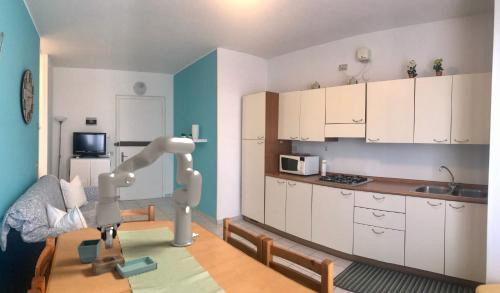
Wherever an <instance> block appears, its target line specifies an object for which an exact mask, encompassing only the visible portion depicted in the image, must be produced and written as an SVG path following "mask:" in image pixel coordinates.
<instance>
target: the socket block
mask: <svg viewBox="0 0 500 293" xmlns="http://www.w3.org/2000/svg"><path fill="white" fill-rule="evenodd" d="M125 261H126V260H125V258H124V257H123V256H122V255H121V253H115V254H111V255H106V256H101V257H97V259H93V260H92V262H91V270H92V271H93V273H94V275H95V276H96V277H97V276H101V275H104V274H108V273H111V272H115V271H117V264H119V265H120V266H121V268H122V267H125Z"/></svg>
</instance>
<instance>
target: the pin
mask: <svg viewBox="0 0 500 293" xmlns="http://www.w3.org/2000/svg"><path fill="white" fill-rule="evenodd" d="M113 229H114V226H113V225H112V224H111V225H105V228H104V231H105V238H106V241H104V249H105V250H112V249H113V248H114V239H113Z"/></svg>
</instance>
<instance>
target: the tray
mask: <svg viewBox="0 0 500 293" xmlns="http://www.w3.org/2000/svg"><path fill="white" fill-rule="evenodd" d="M154 269H155V270H158V262H157V261H156V260H154V259H153V257H152V256H150V255H144V256H141V257H137V258H132V259H129V260H125V267H122V268H121V266H120V265H119V264H117V270H116V271H117V273H118V274H119V275H120V277H121V278H122V279H127V278H130V276H131V277H134V276H133V275H135V276H137V274H138V275H141V273H142V274H145V273H148V272H152V271H154ZM151 270H152V271H151ZM144 272H145V273H144Z"/></svg>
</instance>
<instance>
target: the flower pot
mask: <svg viewBox="0 0 500 293" xmlns="http://www.w3.org/2000/svg"><path fill="white" fill-rule="evenodd" d="M102 241H103V240H102V239H101V238H97V239H85V240H81V242H80V243H79V244H78V246H77V253H78V257H79V259H80V261H81V262H82V264H87V263H88V264H89V263H92V260H93V259H97V258H99V256H100V252H101V247H102Z"/></svg>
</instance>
